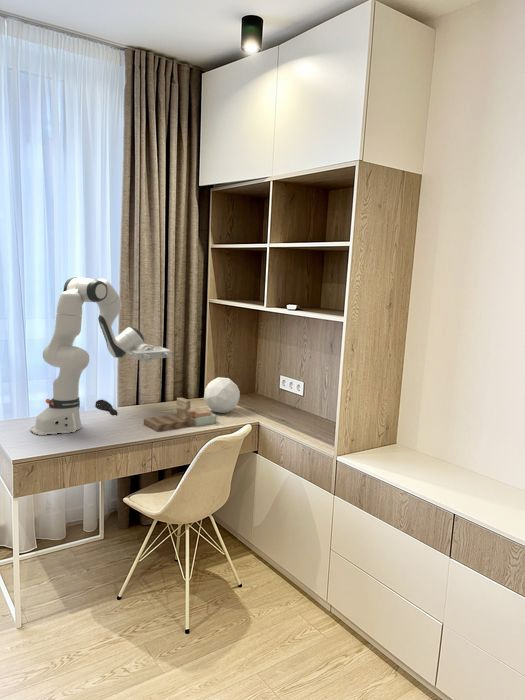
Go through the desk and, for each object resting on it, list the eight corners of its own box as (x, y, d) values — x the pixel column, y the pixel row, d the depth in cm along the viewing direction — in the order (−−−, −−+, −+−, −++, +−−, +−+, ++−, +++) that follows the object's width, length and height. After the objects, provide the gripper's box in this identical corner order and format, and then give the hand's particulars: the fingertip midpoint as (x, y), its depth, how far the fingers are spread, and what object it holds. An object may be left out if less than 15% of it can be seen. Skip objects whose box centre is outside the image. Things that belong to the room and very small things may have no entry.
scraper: (184, 419, 264) (185, 401, 262) (176, 415, 270) (176, 398, 268) (190, 418, 266) (190, 400, 264) (181, 414, 272) (182, 397, 270)
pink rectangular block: (188, 411, 269) (201, 410, 273) (185, 410, 272) (197, 408, 276) (188, 421, 270) (200, 419, 274) (184, 419, 273) (197, 418, 277)
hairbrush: (108, 411, 273) (92, 398, 293) (108, 418, 274) (92, 405, 294) (124, 410, 278) (107, 397, 298) (123, 417, 278) (107, 403, 298)
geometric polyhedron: (213, 425, 290) (191, 397, 284) (224, 405, 307) (204, 377, 301) (241, 413, 281) (219, 384, 276) (250, 393, 298) (230, 365, 293)
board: (157, 431, 251) (157, 425, 251) (143, 424, 262) (143, 418, 262) (193, 425, 264) (193, 419, 264) (179, 419, 275) (179, 413, 274)
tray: (195, 426, 263) (196, 418, 263) (178, 418, 276) (178, 410, 276) (216, 423, 271) (216, 415, 270) (197, 415, 284) (198, 407, 283)
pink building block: (197, 413, 267) (210, 412, 270) (194, 411, 270) (207, 410, 274) (197, 423, 267) (210, 421, 271) (194, 421, 271) (206, 419, 274)
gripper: (127, 347, 273) (140, 351, 262) (163, 345, 286) (176, 349, 275) (127, 359, 274) (139, 364, 263) (163, 357, 287) (176, 361, 276)
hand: (158, 356), depth 269 cm, fingers open, 8 cm apart
